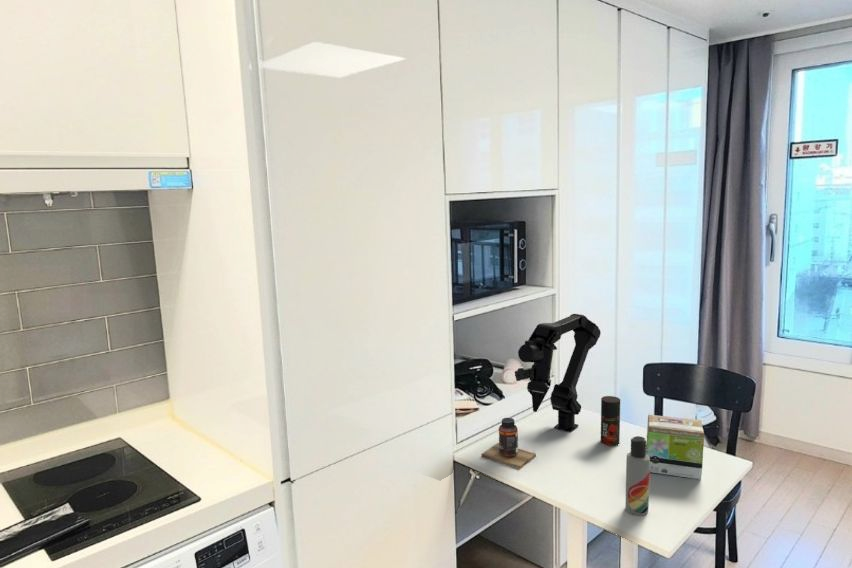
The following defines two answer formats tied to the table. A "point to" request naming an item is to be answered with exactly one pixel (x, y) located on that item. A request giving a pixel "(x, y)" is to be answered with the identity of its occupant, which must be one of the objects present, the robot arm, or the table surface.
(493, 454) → the walnut board
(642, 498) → the lotion bottle
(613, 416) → the deodorant
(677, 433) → the tea box
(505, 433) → the supplement bottle
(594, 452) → the table surface
